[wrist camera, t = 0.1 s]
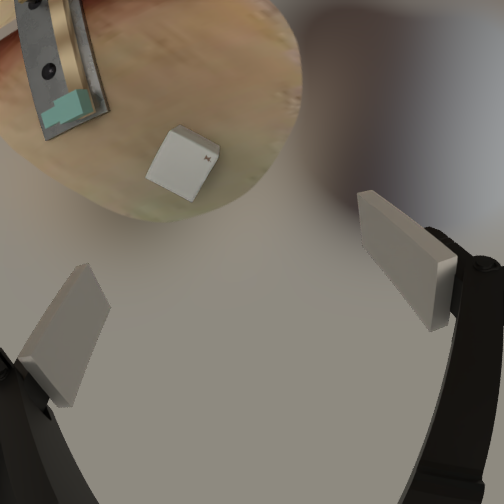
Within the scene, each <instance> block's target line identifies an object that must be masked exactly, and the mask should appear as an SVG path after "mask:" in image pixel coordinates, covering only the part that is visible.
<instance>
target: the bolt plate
mask: <svg viewBox="0 0 504 504" xmlns="http://www.w3.org/2000/svg"><path fill="white" fill-rule="evenodd" d="M14 3H15V11H16V18H17V25H18V31H19V37H20V43H21V48H22V53H23V58H24V63H25V67H26V72H27V76H28V80H29V85H30V89H31V92H32V96H33V100H34V104H35V107H36V111H37V114H38V118H39V121H40V125H41V128H42V131H43V134H44V137H45V141H47V140H50V139H52V138H54V137H56V136H58V135H60V134H62V133H64V132H66V131H68V130H70V129H72V128H74V127H76V126H78V125H80V124H82V123H84V122H86V121H89V120H91V119H93V118H95V117H98V116H100V115H102V114H104V113H107V112H109V111H110V109H109V106H108V103H107V99H106V96H105V92H104V89H103V85H102V82H101V78H100V75H99V71H98V67H97V64H96V60H95V56H94V52H93V48H92V44H91V40H90V36H89V32H88V28H87V24H86V19H85V15H84V10H83V5H82V1H81V0H68V3H69V8H70V13H71V17H72V22H73V27H74V31H75V35H76V40H77V44H78V48H79V52H80V56H81V60H82V64H83V68H84V72H85V75H86V79H87V83H88V86H89V90H90V93H91V97H92V100H93V103H94V107H95V110H96V113H94V114H91V115H89V116H87V117H85V118H82V119H78V120H74V121H72V122H69V123H64V124H60V122H59V123H57V124H55V125H54V126H52V127H50V128H47V129H45V126H44V123H43V120H42V116H41V114H42V113H43V112H45V111H47V110H49V109H51V108H52V107H54V106H55V105H54V102H53V101H55V100H57V99H58V98H60V97H62V96H64V95H66V94H68V93H69V92H68V88H67V84H66V81H65V77H64V73H63V69H62V65H61V61H60V57H59V52H58V48H57V44H56V39H55V34H54V30H53V25H52V19H51V14H50V9H49V3H48V0H36V2H35V3H34V4H31V3H29V2H24V3H23V4H21V3H18V0H14Z"/></svg>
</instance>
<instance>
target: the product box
mask: <svg viewBox="0 0 504 504" xmlns="http://www.w3.org/2000/svg"><path fill="white" fill-rule="evenodd" d="M219 152H220V146H219V145H217V144H216V143H214V142H212V141H210V140H208V139H207V138H205V137H203V136H201V135H199V134H197V133H195V132H194V131H192V130H190V129H188V128H186V127H184V126H182V125H178V126H176V127H175V128H173V129H171V130H170V131H169V132H168V134H167V136H166V137H165V139H164V141H163V143H162V145H161V146H160V148H159V150H158V152H157V154H156V156H155V158H154V160H153V162H152V164H151V166H150V168H149V170H148V172H147V174H146V177H145V178H146V179H148V180H150V181H152V182H154V183H156V184H158V185H160V186H162V187H164V188H166V189H167V190H169V191H171V192H173V193H175V194H177V195H179V196H181V197H183V198H184V199H186V200H188V201H190V202H193V200H194V199H195V197H196V195H197V193H198V192H199V190H200V188H201V186H202V185H203V183H204V181H205V180H206V178H207V176H208V174H209V173H210V171H211V169H212V168H213V166H214V164H215V163H216V161H217V159H218V158H219Z"/></svg>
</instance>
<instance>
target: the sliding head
mask: <svg viewBox="0 0 504 504" xmlns="http://www.w3.org/2000/svg"><path fill="white" fill-rule="evenodd" d="M53 102H54V105H55V106H54V107H52V108H51V109H49V110H47V111H45V112H43V113H42V114H41V116H42V120H43V123H44V126H45V129H47V128H50V127H52V126H54V125H55V124H57V123H59V122H60V124H64V123H69V122H72V121H74V120H77V119H79V118H81V117H83V116H85V115H87V114H89V113H91V112H94V111H93V108H92V105H91V101H90V98H89V94H88V91H87V89H76V90H74V91H72V92H70V93H68V94H66V95H64V96H62V97H60V98H58V99H57V100H55V101H53Z"/></svg>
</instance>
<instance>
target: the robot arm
mask: <svg viewBox="0 0 504 504" xmlns="http://www.w3.org/2000/svg"><path fill="white" fill-rule="evenodd" d="M357 198H358V207H359V216H360V226H361V237H362V246H363V248H364V249H365V250H366V251H367V253H368V254H369V255H370V256H371V257H372V258H373V260H374V261H375V262H376V263H377V265H378V266H379V267H380V268H381V269H382V271H383V272H384V273H385V274H386V276H387V277H388V278H389V279H390V281H391V282H392V283H393V284H394V286H395V287H396V288H397V290H398V291H399V292H400V293H401V295H402V296H403V297H404V299H405V300H406V301H407V302H408V304H409V305H410V306H411V308H412V309H413V310H414V312H415V313H416V314H417V316H418V317H419V318H420V320H421V321H422V322H423V323H424V325H425V326H426V328H427V329H428V330H429V332H432V331H435V330H437V329H440V328H442V327H445V326H447V325H448V321H449V316H450V312H451V313H452V314H453V315H454V316H455V317H456V323H455V328H454V333H453V338H452V344H451V349H450V353H449V358H448V362H447V367H446V371H445V375H444V378H443V382H442V386H441V390H440V393H439V397H438V401H437V404H436V407H435V410H434V413H433V416H432V420H431V423H430V426H429V429H428V432H427V435H426V437H425V440H424V443H423V446H422V448H421V451H420V454H419V456H418V458H417V461H416V464H415V466H414V468H413V471H412V473H411V475H410V478H409V480H408V482H407V485H406V487H405V489H404V491H403V493H402V495H401V498H400V500H399V502H398V504H481V503H482V499H483V495H484V489H485V484H484V482H483V481H482V475H483V470H484V467H485V463H486V459H487V455H488V450H489V446H490V441H491V436H492V432H493V426H494V421H495V415H496V409H497V402H498V395H499V387H500V377H501V367H502V352H503V326H504V266H501V265H500V264H499V263H498V262H497V261H496V260H495V259H493V258H491V257H487V256H472V255H471V254H469V253H468V252H467V251H465V250H464V249H463V248H462V247H461V246H459V245H458V244H457V243H454V241H453V240H452V239H451V238H448V236H447V235H445V234H444V233H443V232H441V231H440V230H437V229H435V228H432V227H426V228H423V227H421V226H420V225H419V224H417V223H416V222H415V221H414V220H412V219H411V218H410V217H408V216H407V215H406V214H404V213H403V212H402V211H400V210H399V209H398V208H396V207H395V206H394V205H392V204H391V203H389V202H388V201H387V200H385V199H384V198H383V197H381V196H380V195H378V194H377V193H375V192H374V191H373V190H369V191H365V192H361V193H357ZM110 309H111V306H110V305H109V303H108V301H107V299H106V297H105V295H104V293H103V291H102V289H101V287H100V285H99V283H98V282H97V280H96V277H95V276H94V273H93V271H92V269H91V267H90V265H89V263H86V264H83V265H79V266H77V267H76V268H75V269H74V271H73V272H72V273H71V275H70V276H69V278H68V279H67V281H66V282H65V283H64V285H63V286H62V288H61V289H60V290H59V292H58V293H57V295H56V296H55V298H54V299H53V301H52V302H51V304H50V305H49V307H48V309H47V310H46V311H45V313H44V314H43V316H42V318H41V319H40V321H39V323H38V324H37V325H36V327H35V329H34V330H33V332H32V334H31V335H30V337H29V338H28V340H27V342H26V343H25V345H24V347H23V349H22V350H21V352H20V354H19V355H18V357H17V359H16V361H15V363H14V364H13V363H12V362H11V360H10V359H9V358H8V356H7V355H6V353H5V352H4V351H3V349H2V348H0V504H99V503H98V501H97V500H96V498H95V496H94V495H93V493H92V491H91V490H90V488H89V486H88V484H87V483H86V481H85V479H84V477H83V475H82V473H81V472H80V470H79V468H78V466H77V464H76V462H75V460H74V458H73V456H72V454H71V452H70V450H69V448H68V446H67V443H66V441H65V439H64V437H63V435H62V433H61V430H60V428H59V426H58V423H57V421H56V419H55V416H54V414H53V411H52V410H51V408H50V407H49V406H48V405H47V403H48V400H49V398H50V399H51V400H52V401H53V402H54V403H55V404H56V405H57V407H72V406H73V403H74V400H75V397H76V395H77V392H78V389H79V386H80V384H81V381H82V378H83V376H84V373H85V370H86V368H87V365H88V362H89V360H90V357H91V355H92V352H93V349H94V347H95V345H96V342H97V340H98V337H99V335H100V333H101V330H102V328H103V325H104V323H105V321H106V318H107V316H108V313H109V311H110Z"/></svg>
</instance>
